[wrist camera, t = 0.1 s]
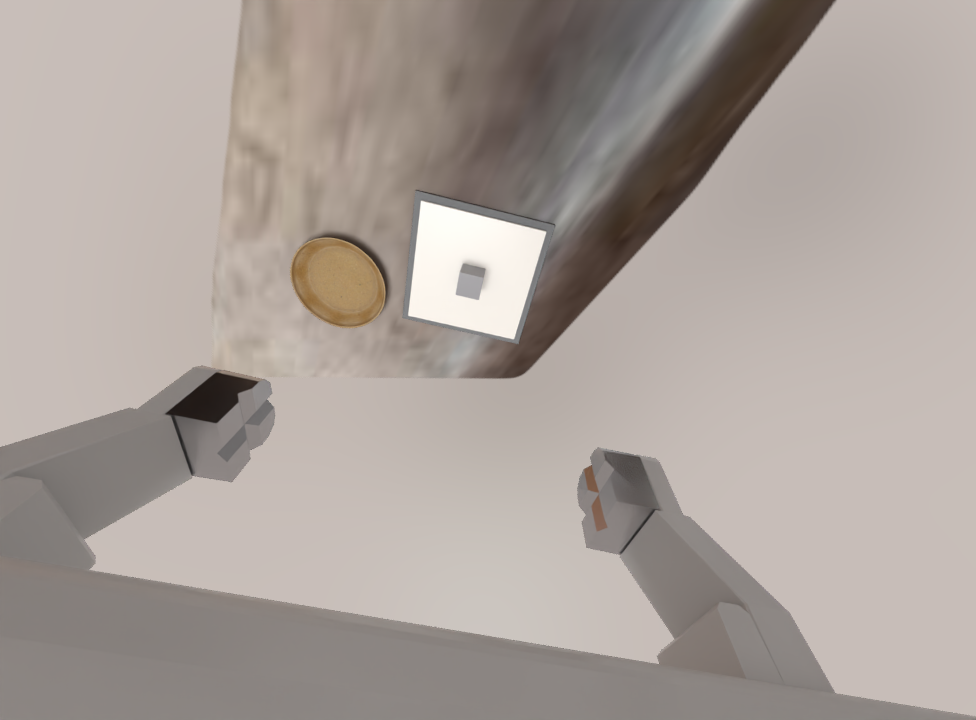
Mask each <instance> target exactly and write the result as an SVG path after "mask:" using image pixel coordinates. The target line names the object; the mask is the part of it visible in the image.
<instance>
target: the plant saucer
mask: <svg viewBox="0 0 976 720" xmlns="http://www.w3.org/2000/svg"><path fill="white" fill-rule="evenodd" d="M290 278H291V283H292V286H293V289H294V291H295V293H296V295H297V297H298V299H299V300H300V301H301V303H302V304H303V305H304V307H305V308H306V309H307V310H308V311H309V312H310V313H312V314H313V315H314V316H315V317H317V318H318V319H320V320H322V321H323V322H325V323H328V324H330V325H333V326H336V327H341V328H357V327H361V326H364V325H367V324H369V323H370V322H372V321H373V320H374V319H376V318H377V316H378V315H379V314H380V312H381V311H382V309H383V306H384V303H385V295H386V292H385V284H384V280H383V277H382V275H381V273H380V271H379V269H378V267H377V266H376V264H375V263H374V262H373V260H372V259H371V258H370V257H369V256H368V255H367V254H366V253H365V252H363V251H362V250H361V249H359V248H358V247H356V246H355V245H353V244H351V243H349V242H346V241H344V240H340V239H336V238H317V239H313V240H311V241H309V242H307V243H305V244H303V245H302V246H301V247H300V248H299V249H298V250H297V251H296V253H295V255H294V257H293V259H292V262H291V266H290Z"/></svg>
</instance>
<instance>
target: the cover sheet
mask: <svg viewBox="0 0 976 720" xmlns="http://www.w3.org/2000/svg"><path fill="white" fill-rule="evenodd" d="M545 235H546V231H545V230H540V229H536V228H532V227H528V226H524V225H520V224H516V223H512V222H508V221H504V220H500V219H496V218H492V217H488V216H484V215H480V214H476V213H472V212H468V211H464V210H460V209H456V208H452V207H448V206H444V205H440V204H436V203H432V202H428V201H424V200H421V206H420V215H419V223H418V232H417V241H416V250H415V259H414V268H413V277H412V286H411V295H410V303H409V312H408V316H412V317H416V318H421V319H425V320H430V321H434V322H439V323H443V324H448V325H452V326H456V327H461V328H465V329H470V330H474V331H479V332H483V333H488V334H492V335H496V336H501V337H505V338H510V339H514V338H515V334H516V331H517V328H518V325H519V321H520V318H521V315H522V311H523V308H524V305H525V301H526V298H527V295H528V292H529V288H530V285H531V282H532V278H533V275H534V272H535V268H536V265H537V262H538V258H539V255H540V252H541V249H542V245H543V242H544V239H545Z"/></svg>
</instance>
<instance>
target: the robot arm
mask: <svg viewBox="0 0 976 720" xmlns="http://www.w3.org/2000/svg"><path fill="white" fill-rule="evenodd" d="M271 394H272V390H271V384H270V382H269V381H267V380H265V379H260V378H256V377H252V376H247V375H243V374H239V373H234V372H230V371H226V370H219V369H215V368H210V367H206V366H198V367H194V368H192V369H191V370H189V371H188V372H187V373H185V374H184V375H183V376H181V377H180V378H179V379H177V380H176V381H174V382H173V383H172V384H171V385H169V386H168V387H166V388H165V389H164V390H162V391H161V392H160V393H158V394H157V395H156V396H154V397H153V398H151V399H150V400H149V401H147V402H146V403H145V404H143V405H142V406H141V407H139V408H138V409H133V408H127V409H124V410H120V411H117V412H114V413H110V414H107V415H105V416H101V417H98V418H94V419H91V420H88V421H84V422H81V423H78V424H74V425H71V426H68V427H65V428H61V429H58V430H55V431H52V432H48V433H45V434H42V435H38V436H35V437H32V438H29V439H25V440H22V441H19V442H16V443H13V444H9V445H6V446H2V447H0V720H976V717H975V716H969V715H963V714H957V713H951V712H945V711H939V710H933V709H927V708H921V707H915V706H909V705H903V704H897V703H891V702H885V701H879V700H873V699H866V698H861V697H854V696H849V695H843V694H836V693H835V692H834V690H833V688H832V686H831V685H830V683H829V681H828V679H827V678H826V676H825V674H824V673H823V671H822V669H821V667H820V665H819V663H818V662H817V660H816V658H815V656H814V655H813V653H812V651H811V649H810V648H809V646H808V644H807V643H806V641H805V639H804V637H803V635H802V634H801V632H800V630H799V629H798V627H797V625H796V623H795V621H794V620H793V618H792V616H791V614H790V613H789V612H788V611H787V610H786V609H785V608H784V607H783V606H782V605H781V604H780V603H779V602H778V601H777V600H776V599H775V598H774V597H773V596H772V595H770V593H768V592H767V591H766V590H765V589H764V588H763V587H762V586H761V585H760V584H759V583H758V582H757V581H756V580H755V579H754V578H753V577H752V576H751V575H750V574H748V572H747V571H746V570H745V569H744V568H742V567H741V566H740V565H739V564H738V563H737V562H736V561H735V560H734V559H733V558H732V557H731V556H730V555H729V554H728V553H727V552H725V550H724V549H723V548H722V547H721V546H720V545H719V544H717V543H716V542H715V541H714V540H713V539H712V538H711V537H710V536H709V535H708V534H707V533H706V532H705V531H704V530H703V529H702V528H701V527H700V526H699V525H698V524H697V523H696V522H695V521H693V520H692V519H691V518H690V517H688V516H684V515H683V513H682V511H681V509H680V507H679V504H678V502H677V500H676V497H675V495H674V493H673V491H672V489H671V486H670V484H669V482H668V480H667V477H666V475H665V473H664V471H663V468H662V466H661V464H660V462H659V461H658V460H657V459H656V458H651V457H646V456H640V455H634V454H629V453H624V452H619V451H613V450H608V449H603V448H597V449H596V450H594V452H593V453H592V455H591V457H590V459H591V464H592V465H591V466H589V467H587V468H585V469H584V470H583V472H582V474H581V476H580V478H579V483H578V503H579V506H580V508H581V509H582V510H583V511H584V513H585V514H586V516H585V517H584V519H583V521H582V526H583V531H584V537H585V542H586V547H587V548H591V549H595V550H600V551H605V552H609V553H614V554H619V555H620V558H621V559H622V561H623V562H624V564H625V565H626V567H627V568H628V570H629V571H630V573H631V574H632V576H633V577H634V579H635V580H636V581H637V583H638V585H639V586H640V588H641V589H642V591H643V592H644V594H645V595H646V597H647V598H648V600H649V601H650V603H651V604H652V605H653V607H654V609H655V610H656V612H657V613H658V615H659V616H660V618H661V619H662V620H663V622H664V623H665V625H666V626H667V628H668V629H669V631H670V633H671V634H672V635H673V637H674V640H673V641H672V642H671V643H670V644H668V645H667V646H666V647H665V648H664V649H662V650H661V652H660V653H659V654H658V656H657V657H658V661H659V664H654V663H648V662H642V661H636V660H630V659H624V658H618V657H612V656H606V655H600V654H594V653H588V652H581V651H575V650H570V649H564V648H558V647H552V646H546V645H540V644H533V643H527V642H522V641H515V640H509V639H503V638H497V637H491V636H485V635H479V634H473V633H467V632H461V631H455V630H449V629H443V628H437V627H430V626H425V625H419V624H413V623H407V622H401V621H394V620H389V619H383V618H376V617H370V616H364V615H358V614H352V613H346V612H340V611H334V610H328V609H322V608H316V607H310V606H304V605H298V604H292V603H286V602H280V601H274V600H268V599H262V598H256V597H249V596H243V595H237V594H231V593H225V592H219V591H212V590H207V589H201V588H194V587H189V586H182V585H176V584H171V583H165V582H158V581H152V580H146V579H140V578H134V577H128V576H122V575H116V574H110V573H104V572H97V571H92V570H89V569H90V568H91V567H92V566H93V565H94V564H95V555H94V553H93V552H92V550H91V549H90V548H89V546H88V545H87V543H86V542H85V540H84V539H85V538H87V537H89V536H91V535H93V534H95V533H96V532H98V531H100V530H101V529H103V528H105V527H107V526H108V525H110V524H112V523H114V522H116V521H117V520H119V519H121V518H123V517H124V516H126V515H128V514H130V513H131V512H133V511H135V510H137V509H138V508H140V507H142V506H144V505H145V504H147V503H149V502H151V501H153V500H154V499H156V498H158V497H160V496H161V495H163V494H165V493H167V492H168V491H170V490H172V489H174V488H175V487H177V486H179V485H180V484H182V483H184V482H186V481H188V480H189V479H191V478H192V476H197V477H203V478H209V479H216V480H223V481H228V482H233V480H234V479H235V478H236V477H237V475H238V474H239V473H240V472H241V470H242V469H243V468H244V466H245V465H246V464H247V463H248V462H249V460H250V450H252V449H254V448H256V447H258V446H260V445H262V444H263V442H264V441H265V440H266V439H267V438H268V436H269V434H270V432H271V430H272V427H273V425H274V419H275V411H274V407H273V406H272V404H271V403H270V402H269V401H268V400H267V399H268V397H269V396H270V395H271Z"/></svg>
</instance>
